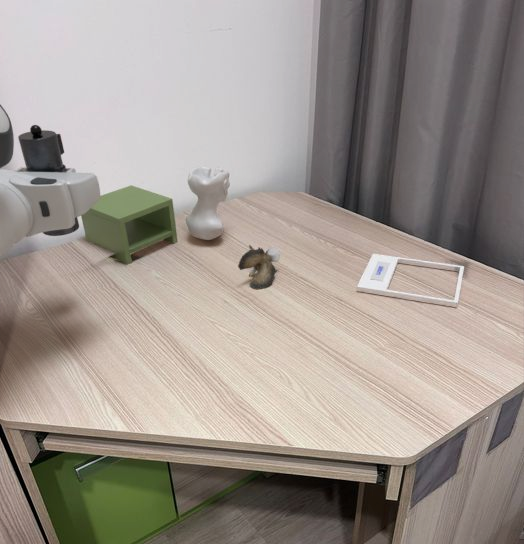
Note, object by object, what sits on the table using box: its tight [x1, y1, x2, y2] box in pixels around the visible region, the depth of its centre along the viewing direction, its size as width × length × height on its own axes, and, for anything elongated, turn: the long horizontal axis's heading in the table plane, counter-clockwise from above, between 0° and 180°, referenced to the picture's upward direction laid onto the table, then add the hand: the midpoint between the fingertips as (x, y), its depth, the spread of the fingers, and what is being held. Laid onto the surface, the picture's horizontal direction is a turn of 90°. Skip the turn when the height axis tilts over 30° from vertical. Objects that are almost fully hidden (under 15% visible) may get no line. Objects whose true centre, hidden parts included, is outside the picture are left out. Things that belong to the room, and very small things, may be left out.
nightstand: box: [80, 185, 179, 266], centre depth 117 cm, size 14×14×10 cm
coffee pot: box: [17, 124, 80, 237], centre depth 86 cm, size 10×6×16 cm, turn 174°
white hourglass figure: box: [185, 166, 231, 241], centre depth 118 cm, size 10×11×15 cm
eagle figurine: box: [237, 244, 281, 290], centre depth 104 cm, size 8×7×9 cm
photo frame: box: [356, 253, 465, 308], centre depth 103 cm, size 15×1×18 cm
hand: (49, 172), depth 85 cm, fingers closed on coffee pot, 6 cm apart
